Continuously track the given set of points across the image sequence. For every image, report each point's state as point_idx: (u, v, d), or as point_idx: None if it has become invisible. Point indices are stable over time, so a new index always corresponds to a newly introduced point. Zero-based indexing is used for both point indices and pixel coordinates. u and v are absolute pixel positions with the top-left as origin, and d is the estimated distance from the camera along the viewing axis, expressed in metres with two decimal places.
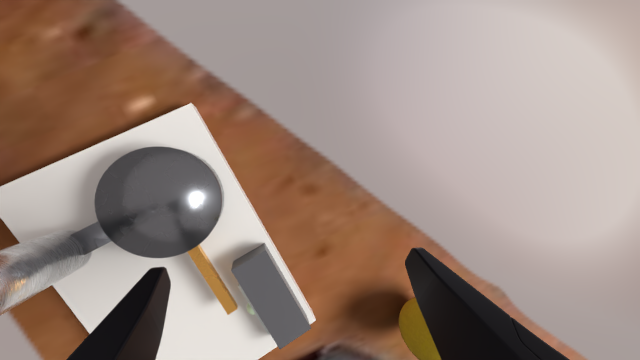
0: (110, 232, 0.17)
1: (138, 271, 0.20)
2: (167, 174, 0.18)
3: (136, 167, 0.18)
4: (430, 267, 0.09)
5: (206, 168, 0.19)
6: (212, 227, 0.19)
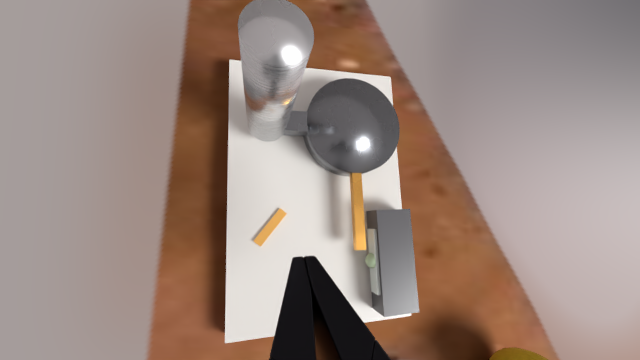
0: (311, 124, 0.20)
1: (292, 175, 0.21)
2: (369, 106, 0.21)
3: (352, 90, 0.21)
4: (310, 279, 0.08)
5: (396, 118, 0.22)
6: (381, 164, 0.21)
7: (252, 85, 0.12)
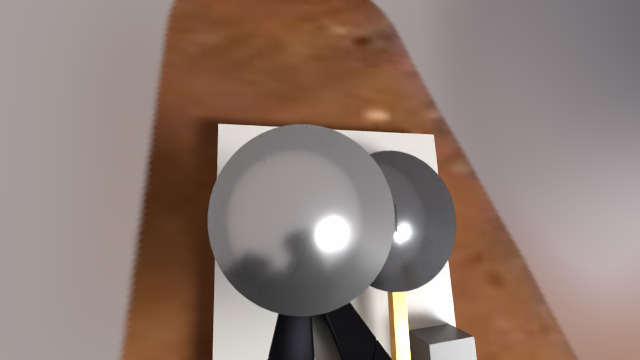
0: None
1: None
2: (415, 191, 0.15)
3: (391, 168, 0.15)
4: None
5: (451, 204, 0.16)
6: (433, 276, 0.14)
7: None
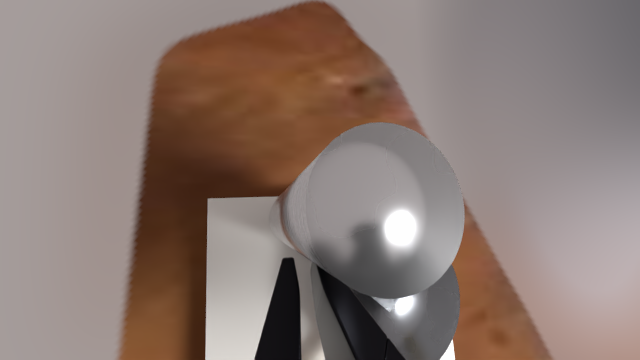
0: None
1: None
2: (429, 289, 0.14)
3: None
4: (321, 278, 0.08)
5: (454, 329, 0.14)
6: None
7: (287, 220, 0.06)
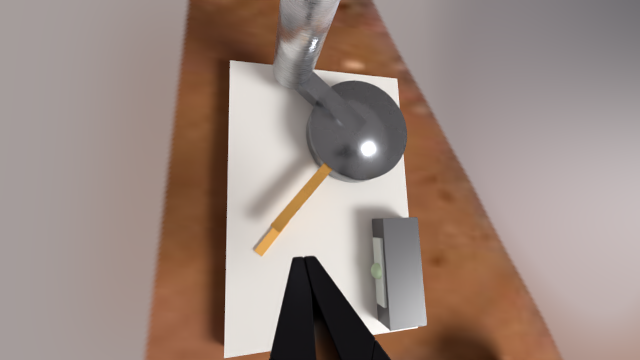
0: (324, 97, 0.19)
1: (295, 181, 0.20)
2: (384, 126, 0.20)
3: (380, 103, 0.21)
4: (310, 279, 0.08)
5: (401, 154, 0.20)
6: (355, 177, 0.19)
7: None
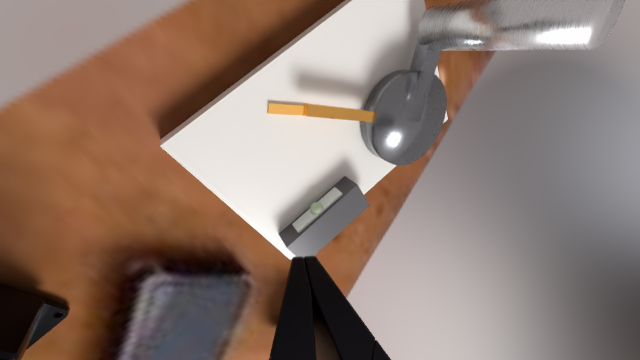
0: (424, 74, 0.20)
1: (341, 96, 0.20)
2: (421, 137, 0.23)
3: (435, 122, 0.23)
4: (310, 279, 0.08)
5: (406, 163, 0.23)
6: (378, 143, 0.21)
7: None
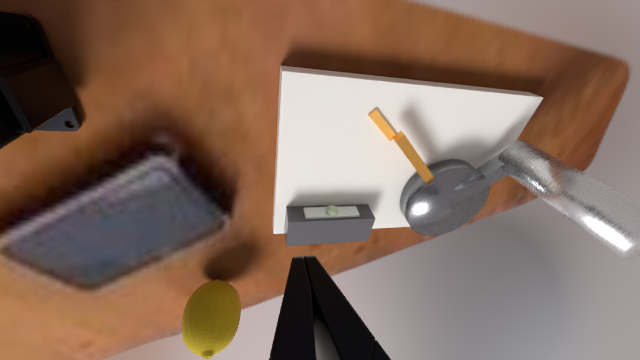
0: (484, 181, 0.23)
1: (419, 147, 0.22)
2: (442, 221, 0.25)
3: (459, 219, 0.26)
4: (310, 279, 0.08)
5: (417, 232, 0.25)
6: (415, 201, 0.23)
7: (620, 196, 0.16)
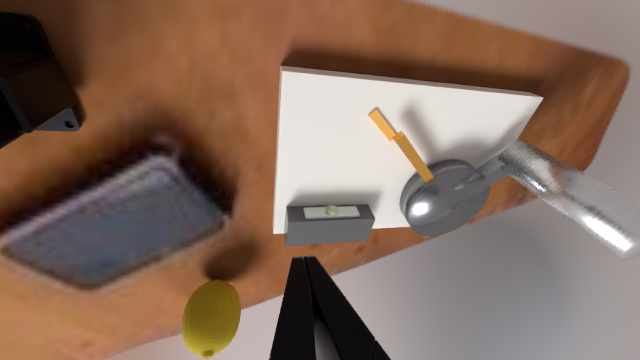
0: (484, 181, 0.23)
1: (419, 147, 0.22)
2: (442, 221, 0.25)
3: (459, 219, 0.26)
4: (310, 279, 0.08)
5: (417, 232, 0.25)
6: (415, 201, 0.23)
7: (620, 196, 0.16)
